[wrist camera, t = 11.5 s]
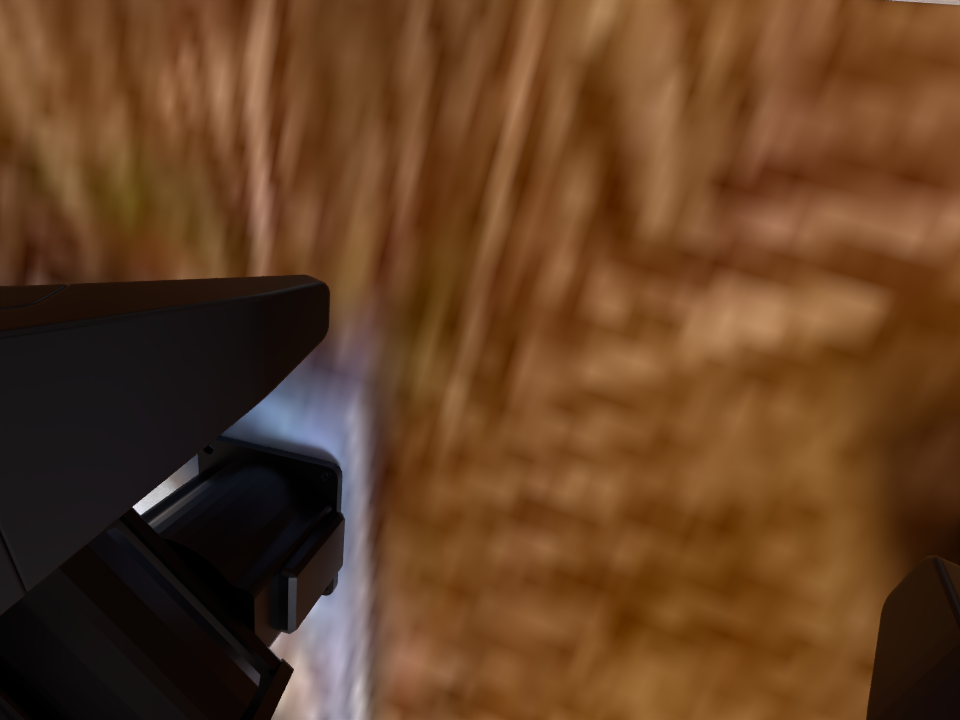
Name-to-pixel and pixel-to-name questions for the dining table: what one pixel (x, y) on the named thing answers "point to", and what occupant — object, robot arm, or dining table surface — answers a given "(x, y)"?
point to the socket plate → (935, 1)
